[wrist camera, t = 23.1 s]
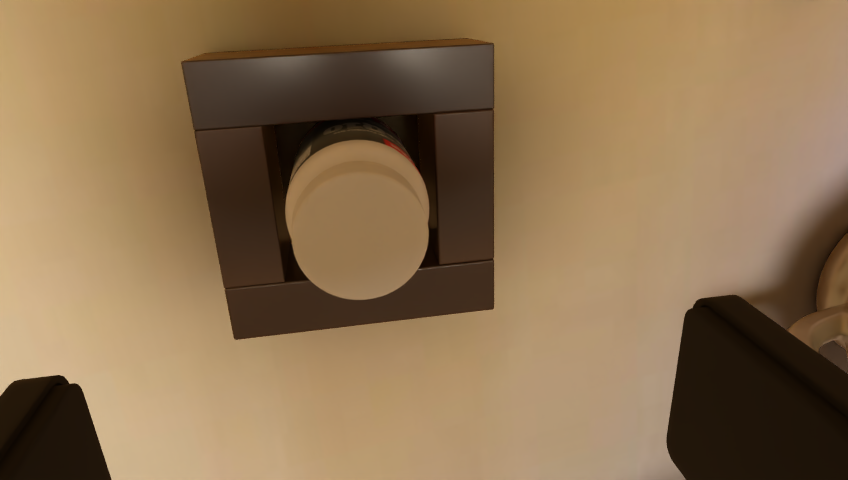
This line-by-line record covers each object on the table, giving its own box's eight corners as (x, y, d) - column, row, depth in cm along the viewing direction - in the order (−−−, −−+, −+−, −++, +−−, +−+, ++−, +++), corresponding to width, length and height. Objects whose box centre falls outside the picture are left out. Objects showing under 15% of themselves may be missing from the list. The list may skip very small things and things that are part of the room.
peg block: (204, 53, 22) (180, 61, 18) (467, 38, 24) (494, 42, 20) (246, 294, 26) (233, 340, 22) (471, 269, 27) (494, 309, 24)
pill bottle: (423, 133, 25) (469, 189, 17) (384, 234, 26) (410, 328, 18) (314, 93, 23) (309, 133, 16) (279, 201, 25) (259, 287, 17)
